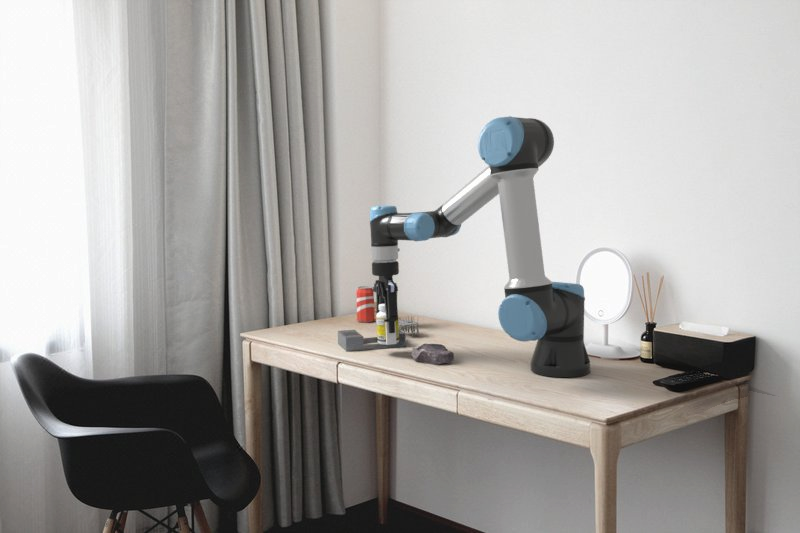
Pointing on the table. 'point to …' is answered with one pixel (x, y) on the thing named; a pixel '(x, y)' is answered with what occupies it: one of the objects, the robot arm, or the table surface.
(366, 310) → the beverage can
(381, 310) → the pill bottle
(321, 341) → the table surface
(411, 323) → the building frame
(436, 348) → the rock
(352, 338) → the grey recessed block
